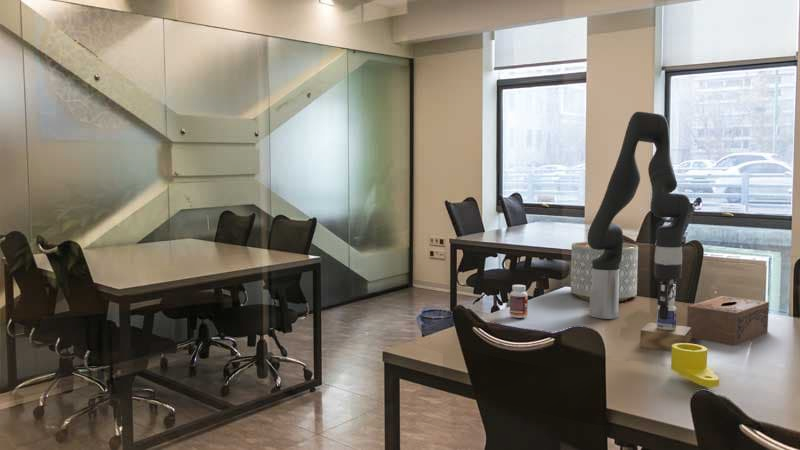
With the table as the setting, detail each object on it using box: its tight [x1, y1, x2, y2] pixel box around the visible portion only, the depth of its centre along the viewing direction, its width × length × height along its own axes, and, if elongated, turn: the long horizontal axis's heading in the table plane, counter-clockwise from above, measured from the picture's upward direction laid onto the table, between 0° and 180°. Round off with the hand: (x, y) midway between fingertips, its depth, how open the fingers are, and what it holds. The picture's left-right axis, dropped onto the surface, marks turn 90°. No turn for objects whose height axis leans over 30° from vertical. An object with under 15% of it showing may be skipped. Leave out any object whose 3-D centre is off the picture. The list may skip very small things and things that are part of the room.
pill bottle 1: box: [509, 284, 529, 319], centre depth 234 cm, size 6×6×11 cm
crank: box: [670, 343, 720, 388], centre depth 165 cm, size 18×8×6 cm, turn 178°
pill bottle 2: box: [656, 298, 678, 330], centre depth 193 cm, size 5×5×9 cm
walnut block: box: [639, 322, 692, 352], centre depth 194 cm, size 12×12×5 cm
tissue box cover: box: [686, 295, 770, 347], centre depth 207 cm, size 26×14×10 cm, turn 132°
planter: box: [570, 241, 639, 302], centre depth 265 cm, size 26×26×22 cm
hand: (666, 316), depth 193 cm, fingers open, 8 cm apart
